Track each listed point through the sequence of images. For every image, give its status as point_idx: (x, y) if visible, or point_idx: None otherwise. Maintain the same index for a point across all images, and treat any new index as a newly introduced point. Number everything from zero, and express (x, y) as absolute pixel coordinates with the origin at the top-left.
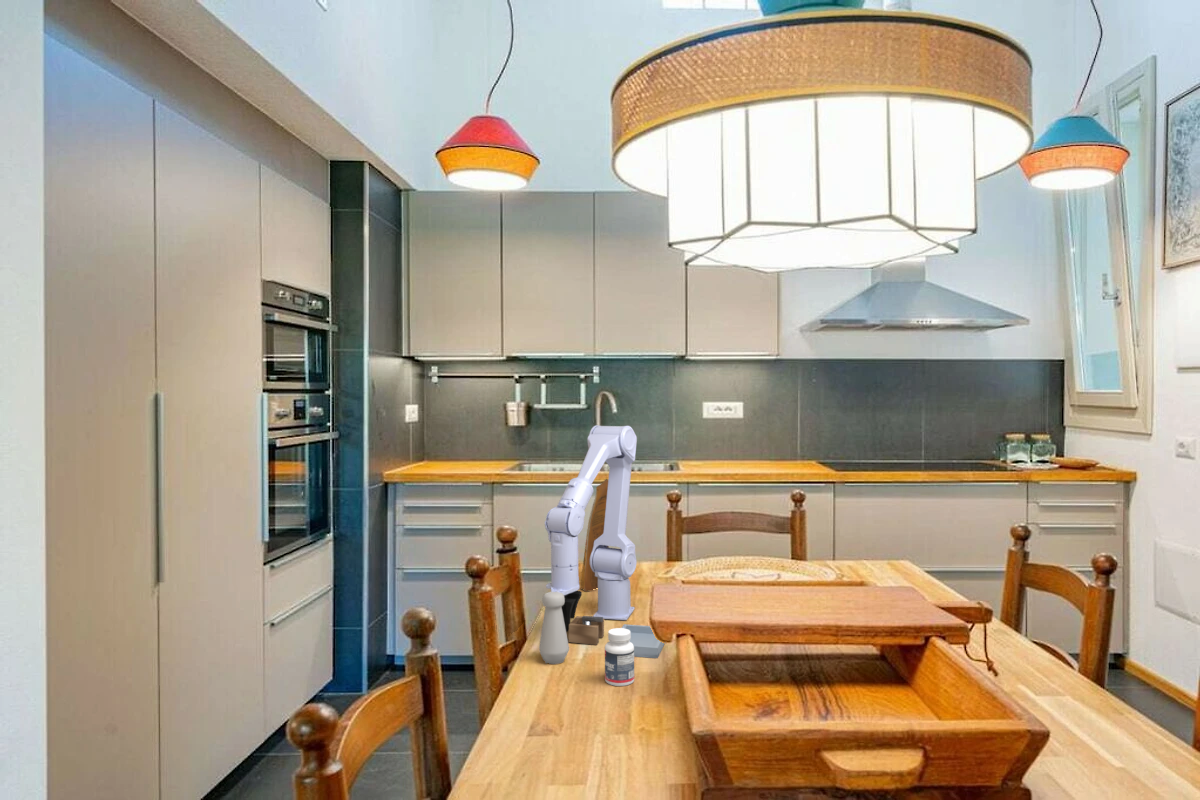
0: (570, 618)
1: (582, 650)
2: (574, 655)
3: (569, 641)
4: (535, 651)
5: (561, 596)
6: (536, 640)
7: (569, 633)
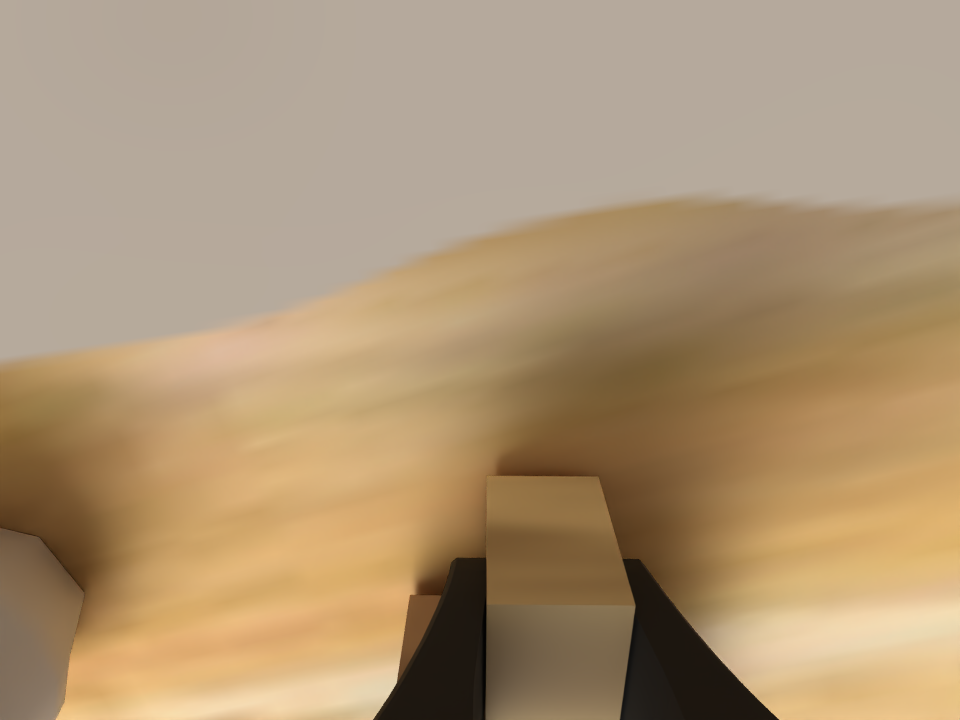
0: (609, 712)
1: (289, 701)
2: (169, 679)
3: (409, 605)
4: (116, 394)
5: None
6: (410, 305)
7: (400, 664)
